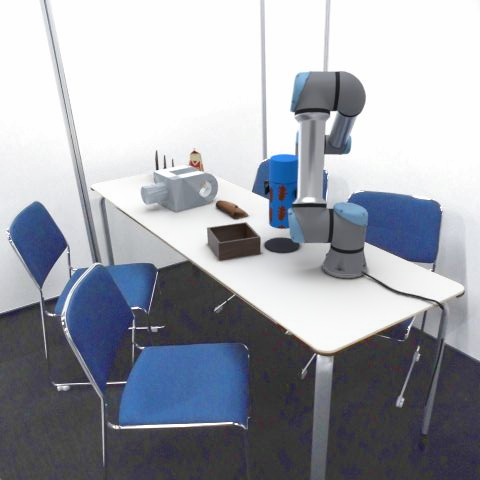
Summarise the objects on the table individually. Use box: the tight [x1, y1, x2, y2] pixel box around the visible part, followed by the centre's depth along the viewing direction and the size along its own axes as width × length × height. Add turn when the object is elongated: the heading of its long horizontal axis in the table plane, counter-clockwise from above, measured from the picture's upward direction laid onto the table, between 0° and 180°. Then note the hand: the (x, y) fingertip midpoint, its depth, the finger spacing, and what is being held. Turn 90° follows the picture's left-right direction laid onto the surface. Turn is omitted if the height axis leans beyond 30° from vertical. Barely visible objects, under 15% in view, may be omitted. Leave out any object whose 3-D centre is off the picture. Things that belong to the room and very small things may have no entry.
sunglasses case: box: [215, 199, 249, 220], centre depth 220 cm, size 18×7×7 cm
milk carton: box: [188, 147, 206, 188], centre depth 252 cm, size 9×9×20 cm
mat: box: [263, 236, 301, 254], centre depth 187 cm, size 14×14×1 cm
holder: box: [206, 221, 262, 261], centre depth 184 cm, size 17×17×7 cm
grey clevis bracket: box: [140, 164, 219, 213], centre depth 228 cm, size 35×19×15 cm, turn 126°
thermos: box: [268, 153, 298, 230], centre depth 175 cm, size 11×11×25 cm
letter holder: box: [154, 150, 175, 171], centre depth 267 cm, size 10×20×14 cm, turn 7°
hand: (280, 192), depth 172 cm, fingers closed on thermos, 11 cm apart
